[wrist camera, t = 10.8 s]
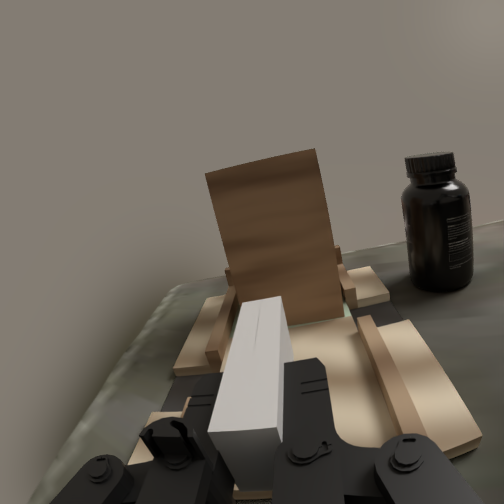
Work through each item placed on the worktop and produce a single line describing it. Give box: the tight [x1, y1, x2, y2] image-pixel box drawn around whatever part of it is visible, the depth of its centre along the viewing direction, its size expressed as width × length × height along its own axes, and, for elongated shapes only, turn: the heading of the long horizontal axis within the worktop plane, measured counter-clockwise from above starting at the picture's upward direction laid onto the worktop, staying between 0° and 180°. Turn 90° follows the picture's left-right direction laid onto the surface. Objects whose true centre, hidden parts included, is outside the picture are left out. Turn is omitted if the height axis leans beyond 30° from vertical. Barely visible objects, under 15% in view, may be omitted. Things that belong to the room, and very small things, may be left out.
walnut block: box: [205, 148, 345, 326], centre depth 27 cm, size 8×8×13 cm
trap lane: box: [128, 245, 483, 500], centre depth 22 cm, size 24×18×4 cm
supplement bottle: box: [401, 152, 474, 292], centre depth 26 cm, size 7×7×12 cm
